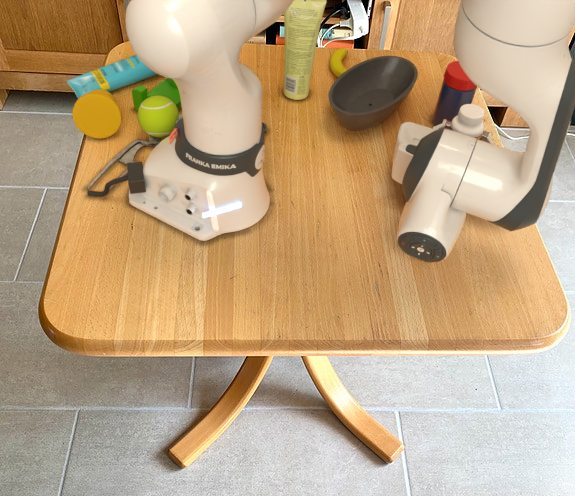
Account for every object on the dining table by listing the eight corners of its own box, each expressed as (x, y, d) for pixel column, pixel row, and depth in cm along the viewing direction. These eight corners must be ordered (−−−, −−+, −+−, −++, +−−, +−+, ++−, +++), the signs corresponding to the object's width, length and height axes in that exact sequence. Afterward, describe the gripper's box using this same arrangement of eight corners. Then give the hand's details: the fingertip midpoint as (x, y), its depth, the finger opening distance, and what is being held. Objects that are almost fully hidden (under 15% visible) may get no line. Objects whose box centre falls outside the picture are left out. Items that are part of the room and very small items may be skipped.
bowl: (426, 99, 119) (433, 71, 115) (361, 154, 108) (367, 125, 103) (375, 74, 124) (380, 46, 119) (307, 124, 112) (310, 95, 108)
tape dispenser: (184, 71, 121) (182, 50, 118) (213, 83, 119) (212, 62, 116) (133, 108, 113) (129, 87, 109) (163, 123, 110) (161, 101, 107)
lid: (440, 85, 107) (443, 75, 105) (446, 67, 111) (449, 57, 109) (475, 94, 106) (479, 84, 104) (480, 75, 110) (484, 65, 108)
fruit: (330, 82, 122) (355, 84, 122) (331, 73, 120) (357, 74, 120) (327, 54, 128) (351, 55, 129) (329, 45, 127) (353, 46, 127)
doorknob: (120, 96, 103) (70, 92, 101) (121, 140, 107) (73, 137, 106) (124, 80, 109) (77, 77, 108) (125, 122, 113) (79, 120, 112)
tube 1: (172, 52, 115) (74, 89, 110) (178, 75, 119) (83, 112, 114) (157, 37, 120) (63, 72, 115) (163, 60, 124) (72, 94, 118)
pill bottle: (472, 170, 105) (490, 123, 97) (441, 164, 105) (455, 118, 98) (473, 150, 108) (489, 104, 101) (442, 144, 109) (456, 98, 101)
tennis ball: (127, 100, 101) (147, 90, 107) (133, 141, 105) (151, 129, 111) (166, 102, 100) (183, 92, 106) (170, 144, 103) (187, 131, 109)
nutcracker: (84, 190, 99) (110, 201, 98) (83, 186, 98) (109, 197, 97) (140, 133, 109) (164, 143, 108) (139, 129, 108) (164, 139, 107)
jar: (429, 127, 114) (443, 77, 106) (435, 109, 118) (449, 60, 110) (461, 136, 113) (478, 86, 105) (466, 117, 117) (482, 68, 108)
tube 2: (300, 81, 121) (308, -15, 107) (316, 94, 119) (327, -2, 104) (277, 90, 119) (282, -7, 104) (293, 104, 116) (300, 6, 102)
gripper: (522, 185, 90) (535, 131, 98) (388, 144, 94) (412, 96, 103) (508, 215, 95) (522, 161, 103) (381, 175, 99) (405, 127, 108)
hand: (466, 128), depth 103 cm, fingers closed on pill bottle, 5 cm apart
